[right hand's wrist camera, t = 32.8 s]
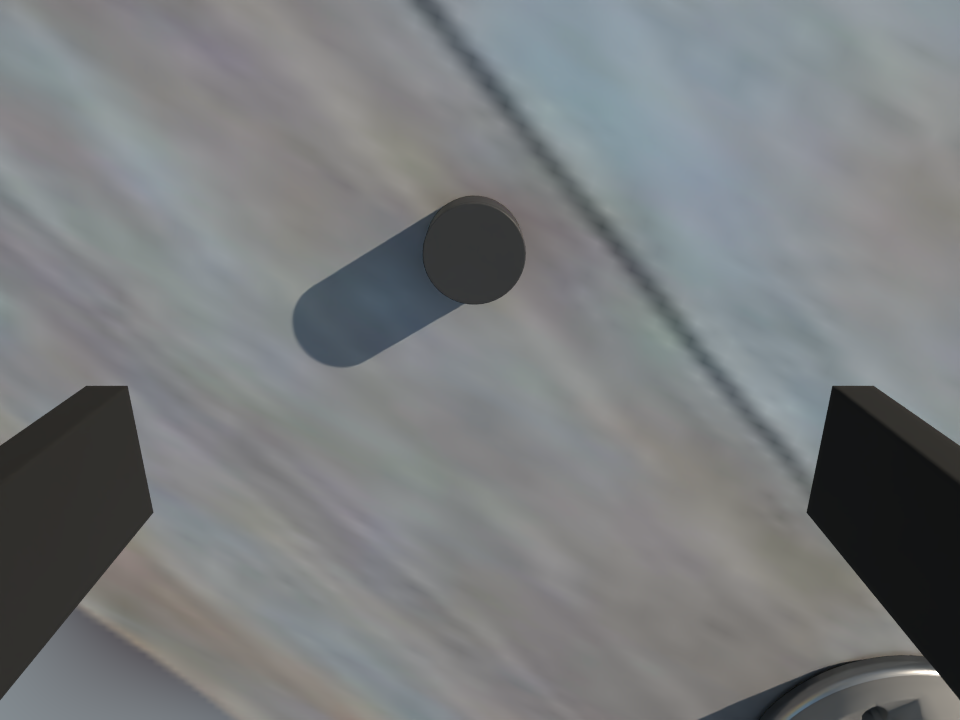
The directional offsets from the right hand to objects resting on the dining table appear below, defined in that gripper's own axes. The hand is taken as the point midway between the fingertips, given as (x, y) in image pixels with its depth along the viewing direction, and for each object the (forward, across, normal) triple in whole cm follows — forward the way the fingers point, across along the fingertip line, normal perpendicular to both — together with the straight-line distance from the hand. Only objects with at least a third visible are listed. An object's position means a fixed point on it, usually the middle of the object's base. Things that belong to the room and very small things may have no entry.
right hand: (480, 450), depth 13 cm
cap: (+14, 0, -1) cm, 14 cm away
